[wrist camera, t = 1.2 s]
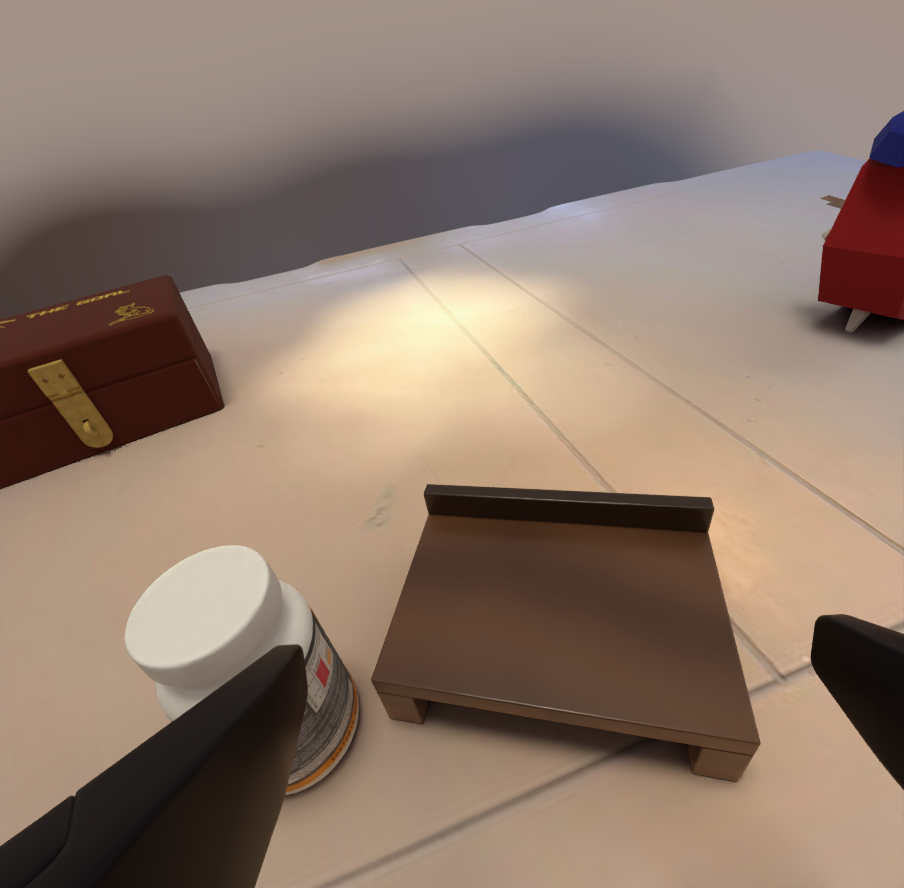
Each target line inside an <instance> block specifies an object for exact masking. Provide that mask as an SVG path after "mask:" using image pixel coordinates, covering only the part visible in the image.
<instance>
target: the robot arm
mask: <svg viewBox="0 0 904 888" xmlns="http://www.w3.org/2000/svg"><path fill="white" fill-rule="evenodd" d="M811 662H812V666H813V668H814V670H815V672H816V674H817V675H818V677H819V678H820V679H821V681H822V682H823V684H824V685H825V686H826V688H827V689H828V690H829V692H830V693H831V695H832V696H833V697H834V699H835V700H836V702H837V703H838V704H839V706H840V707H841V709H842V710H843V711H844V713H845V714H846V716H847V717H848V718H849V720H850V721H851V723H852V724H853V725H854V727H855V728H856V729H857V731H858V732H859V734H860V735H861V736H862V738H863V739H864V741H865V742H866V743H867V745H868V746H869V747H870V749H871V750H872V751H873V753H874V754H875V755H876V757H877V758H878V759H879V761H880V762H881V763H882V764H883V766H884V767H885V768H886V769H887V771H888V772H889V773H890V774H891V776H892V777H893V778H894V779H895V780H896V782H897V783H898V784H899V785H900V786H901V788H902V789H903V790H904V634H902V633H899V632H896V631H893V630H891V629H888V628H885V627H882V626H879V625H876V624H873V623H870V622H867V621H864V620H861V619H858V618H855V617H852V616H849V615H844V614H837V615H822V616H820V617H818V618H817V620H816V622H815V627H814V634H813V642H812V650H811ZM307 696H308V682H307V675H306V667H305V660H304V653H303V649H302V647H301V646H300V645H299V644H290V645H278V646H275V647H274V648H272V649H271V650H270V651H268V652H267V653H266V654H264V655H263V656H261V657H260V658H259V659H257V660H256V661H255V662H253V663H252V664H251V665H249V666H248V667H246V668H245V669H244V670H242V671H241V672H240V673H238V674H237V675H235V676H234V677H233V678H231V679H230V680H229V681H227V682H226V683H224V684H223V685H222V686H220V687H219V688H218V689H216V690H215V691H214V692H212V693H211V694H209V695H208V696H207V697H205V698H204V699H203V700H201V701H200V702H198V703H197V704H196V705H194V706H193V707H192V708H190V709H189V710H188V711H186V712H185V713H183V714H182V715H181V716H179V717H178V718H177V719H175V720H174V721H172V722H171V723H170V724H168V725H167V726H166V727H164V728H163V729H161V730H160V731H159V732H157V733H156V734H155V735H153V736H152V737H150V738H149V739H148V740H146V741H145V742H144V743H142V744H141V745H140V746H138V747H137V748H135V749H134V750H133V751H131V752H130V753H129V754H127V755H126V756H124V757H123V758H122V759H120V760H119V761H118V762H116V763H115V764H113V765H112V766H111V767H109V768H108V769H107V770H105V771H104V772H102V773H101V774H100V775H98V776H97V777H96V778H94V779H93V780H92V781H90V782H89V783H87V784H86V785H85V786H83V787H82V788H81V789H79V790H78V791H77V792H76V795H75V797H74V796H69V797H68V798H67V799H65V800H64V801H63V802H61V803H60V804H58V805H57V806H56V807H54V808H53V809H52V810H50V811H49V812H48V813H46V814H45V815H43V816H42V817H41V818H39V819H38V820H37V821H35V822H34V823H32V824H31V825H29V826H28V827H27V828H25V829H24V830H22V831H21V832H20V833H18V834H17V835H15V836H14V837H13V838H11V839H10V840H8V841H7V842H5V843H4V844H3V845H1V846H0V888H255V885H256V882H257V879H258V876H259V873H260V870H261V867H262V864H263V861H264V858H265V855H266V852H267V849H268V846H269V843H270V840H271V837H272V834H273V831H274V828H275V825H276V822H277V819H278V816H279V813H280V810H281V807H282V803H283V800H284V797H285V794H286V790H287V786H288V782H289V778H290V773H291V769H292V764H293V760H294V755H295V751H296V747H297V742H298V738H299V733H300V729H301V724H302V720H303V716H304V711H305V707H306V702H307Z"/></svg>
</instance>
